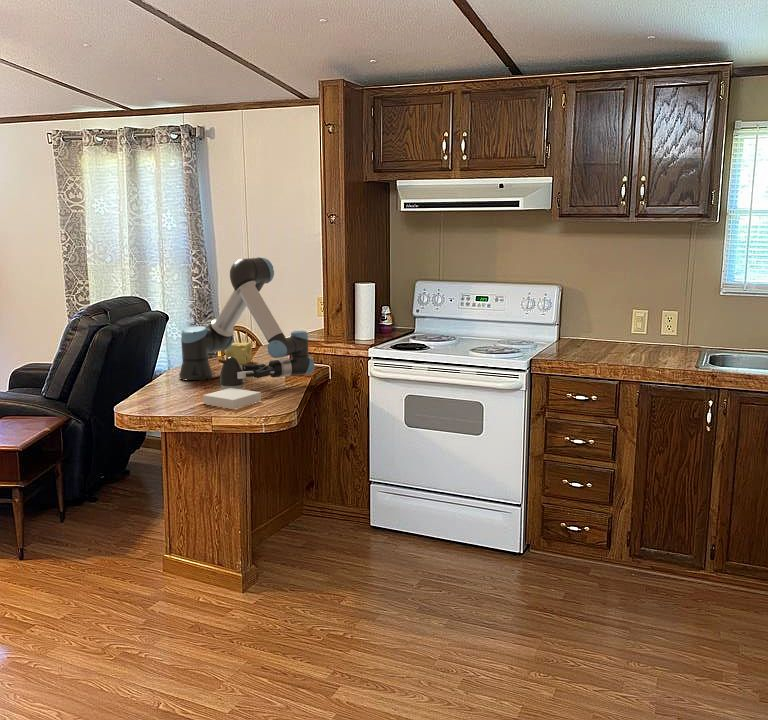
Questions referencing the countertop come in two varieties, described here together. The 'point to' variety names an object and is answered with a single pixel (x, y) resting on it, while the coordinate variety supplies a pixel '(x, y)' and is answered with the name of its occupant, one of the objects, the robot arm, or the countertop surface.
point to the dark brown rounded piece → (230, 374)
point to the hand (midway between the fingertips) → (232, 372)
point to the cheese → (240, 352)
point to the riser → (231, 398)
